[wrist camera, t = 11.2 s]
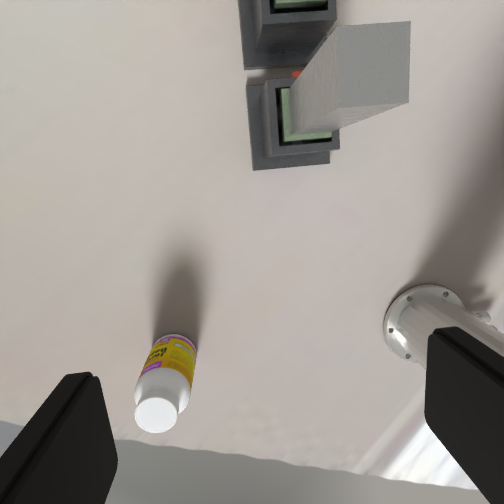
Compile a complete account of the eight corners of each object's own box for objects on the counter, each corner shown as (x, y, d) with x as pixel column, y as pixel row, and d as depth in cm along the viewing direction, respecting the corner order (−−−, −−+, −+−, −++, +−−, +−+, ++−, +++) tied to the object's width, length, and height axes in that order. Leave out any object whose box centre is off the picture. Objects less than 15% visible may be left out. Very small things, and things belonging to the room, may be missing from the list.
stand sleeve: (324, 81, 41) (351, 57, 32) (327, 163, 44) (352, 161, 35) (245, 87, 41) (251, 65, 32) (252, 170, 43) (259, 170, 34)
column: (321, 92, 35) (418, 11, 17) (323, 139, 36) (415, 109, 18) (276, 95, 34) (329, 18, 17) (279, 143, 36) (331, 116, 18)
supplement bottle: (172, 323, 47) (153, 377, 35) (206, 351, 49) (199, 412, 36) (141, 354, 48) (112, 418, 36) (175, 380, 50) (159, 450, 37)
